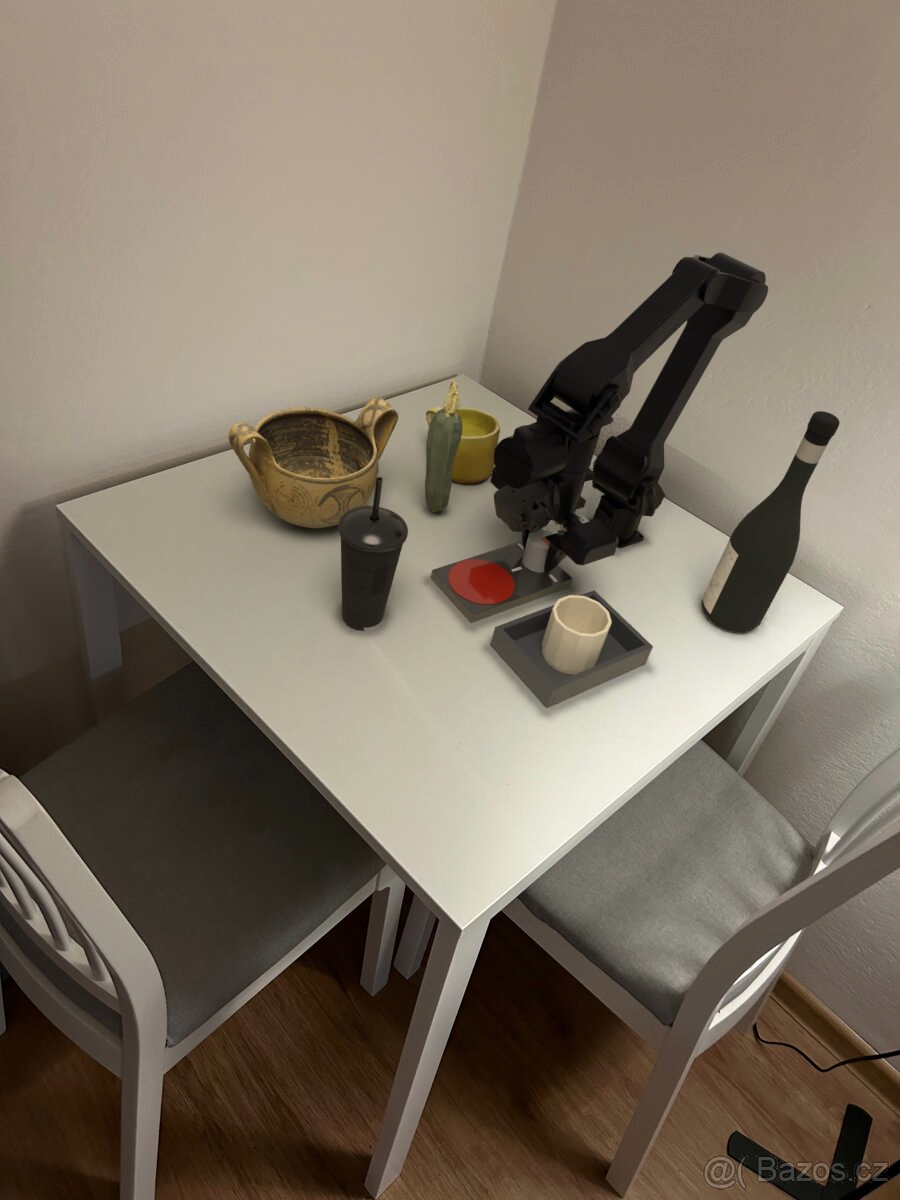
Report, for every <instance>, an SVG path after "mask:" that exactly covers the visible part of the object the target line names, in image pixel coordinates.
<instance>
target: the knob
mask: <svg viewBox="0 0 900 1200" xmlns="http://www.w3.org/2000/svg"><path fill="white" fill-rule="evenodd" d="M551 534H555V532H552V531H550V530H547V529H543V528H542V529H540V530H538V531H537V532H535V533H531V532H530V533H529V535H528V539H527V543H526V546H525V550H524V554H523V557H522V563H523V565H524V566H525V567H526V568H527V569H529V570H531V571H534V572H538V573H543V572H545V571H544V566H545V560H546V557H547V553H548V549H549V545H550V543H549V542H548V541H547V540H546V539H545V536H548V535H551Z"/></svg>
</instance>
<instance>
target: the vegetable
mask: <svg viewBox="0 0 900 1200" xmlns="http://www.w3.org/2000/svg"><path fill="white" fill-rule="evenodd" d="M450 382H451V383H450V385H449V386H450V387H449V388H448V389H449V390H448V391H447V394H446V397H445V398H444V401H443V409H441V410H439V411H438V412H437V413H436V414H435V415H434V416H433V418H432V420H431V422H430V425H428V429H427V436H426V445H425V455H426V456H425V457H426V461H425V462H426V465H425V478H424V497H425V503H426V505H427V506H428V508H429V509H430V510H431V511H432V512H433V513H436V512H438V511H439V512H442V511H443V510H444V509H445V508H447V507H448V505H449V501H450V495H451V490H452V482H453V481H452V468H453V462H454V458H455V456H456V452H457V449H458V446H459V443H460V440H461V436H462V428H463V425H462V420H461V418H460V416H459V415H458V414H457V413H456V412H457V411H458V410H459V408H461V398H460V393H459V390H458V388H459V387H458V384H457V382H456V381H455V380H453V379H451V380H450Z"/></svg>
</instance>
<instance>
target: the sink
mask: <svg viewBox="0 0 900 1200" xmlns="http://www.w3.org/2000/svg"><path fill="white" fill-rule="evenodd" d="M579 596H586V597H588V598H590V599H593V600H595V601H597V602H599V603H600V604H601V605H602V606H603V607H604V608H605V609H606V610H608V612H609V614H610V618H611V621H612V623H611V626H610V629H609V631H608V634H607V637H606V639H605V642H604V645H603V647H602V650H601V652H600V655H599V658H598V660H597V662H596V664H595V666H594V667H592V668H590V669H587V670H585V671H583V672H580V673H578V674H576V675H572V674H566V673H563V672H560V671H558V670H556V669H554V668H553V667H552V666H550V665H549V664H548V663H547V662H546V660H545V659H544V657H543V654H542V645H541V644H542V641H543V638H544V635H545V631H546V628H547V625H548V622H549V619H550V615H551V612H552V609H553V607H554V605H555V604H553V605H550V606H548V607H544V608H542V609H539V610H537V611H533V612H532V613H528V614H526V615H523V616H521V617H517V618H515V619H513V620H510V621H506V622H504V623H502V624H499V625H496V626H495V627H494V629H493V633H492V636H491V641H490V645H489V646H490V647H491V648H492V649H493V651H494V652H496V654H497V655H498V656H499V657H500V658H501V659H502V660H503V662H504V663H506V665H507V666H508V667H509V669H511V671H512V672H513V673H514V674H515V675H516V676H517V678H518V679H520V680H521V682H522V683H523V684H524V685H525V687H527V688H528V690H529V691H530V692H531V693H532V694H533V695H534V696H535V698H537V700H538V701H539V702H540V703H541V704H542V705H543V706H544V707H545V709H549V708H550V707H553V706H555V705H559V704H560V703H562V702H565V701H566V700H568V699H571V698H573V697H575V696H578V695H580V694H582V693H584V692H587V691H589V690H592V689H593V688H595V687H598V686H600V685H603V684H604V683H605V684H606V683H607V682H609V681H612V680H613V679H616V678H618V677H621V676H622V675H625V674H627V673H629V672H631V671H633V670H636V669H639V668H640V667H642V666H645V665H647V662H648V660H649V657H650V655H651V653H652V650H653V648H654V645H652V644H651V642H649V641H648V640H647V639H646V638H645V637H644V636H643V635H642V634H641V633H640V632H639V631H638V630H637V629H636V628H634V627H633V625H632V624H630V622H629V621H627V620H626V619H625V618H624V617H623V616H622V615H621V614H620V613H619V612H618V611H617V610H616V609H615V608H613V606H612V605H611V604H610V603H608V602H607V601H606V599H604V598H603V597H602V596H601V595H600V594H599V593H598V592H597V591H596V590H594V589H593V590H591V591H588V592H585V593H582V594H580V595H579Z"/></svg>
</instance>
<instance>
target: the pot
mask: <svg viewBox="0 0 900 1200" xmlns="http://www.w3.org/2000/svg"><path fill="white" fill-rule="evenodd" d="M553 605H554V607H553V609H552V612H551V615H550V619H549V622H548V625H547V628H546V631H545V635H544V638H543V641H542V644H541V645H542V654H543V657H544V659H545V660H546V662H547V663H548V664H549V665H550V666H552V667H553V668H554V669H556V670H558V671H560V672H563V673H566V674H572V675H576V674H578V673H580V672H583V671H585V670H587V669H590V668H592V667H594V666H595V664H596V662H597V660H598V658H599V655H600V652H601V650H602V647H603V645H604V642H605V639H606V637H607V634H608V631H609V629H610V626H611V623H612V621H611V618H610V614H609V612H608V610H606V609H605V608H604V607H603V606H602V605H601V604H600V603H599V602H597V601H595V600H593V599H590V598H588V597H586V596H580V595H576V594H568V595H566V596H563V597H561V598H558V599H557V601H556V602H555V604H553Z"/></svg>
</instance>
